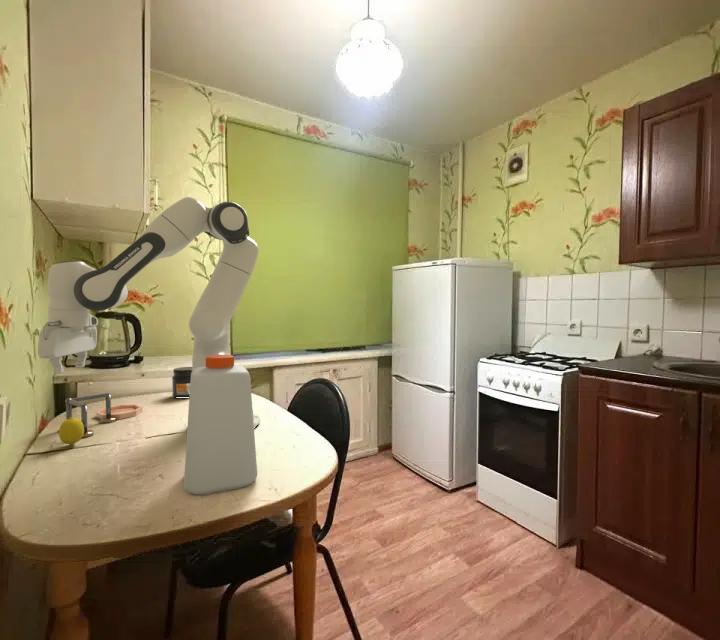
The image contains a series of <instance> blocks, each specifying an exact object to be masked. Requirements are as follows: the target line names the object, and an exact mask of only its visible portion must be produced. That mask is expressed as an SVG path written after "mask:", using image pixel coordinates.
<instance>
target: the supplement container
mask: <svg viewBox="0 0 720 640" xmlns="http://www.w3.org/2000/svg"><path fill="white" fill-rule="evenodd" d="M172 371H173V376H171V380H172V383H171V385H172V386H171V387H172V394H171V395H172V397H173V396H174V397H189V396H190V380H191V372H192V366H183V367H182V366H181V367H176V368H173V370H172ZM174 397H173V398H174Z"/></svg>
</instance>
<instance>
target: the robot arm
mask: <svg viewBox="0 0 720 640" xmlns="http://www.w3.org/2000/svg"><path fill="white" fill-rule="evenodd" d="M248 217H249V216H248V214H247V212H246V210H245V208H243V206H241V205H240V204H238V203H236V202H233V201H223V202H220V203H218V204H216V205H215V206H212V207H207V206H206V205H204V204H203V203H202V202H201V201H199V200H198V199H196V198H194V197H192V196H191V197H190V196H186V197H183V198H181V199H180V200H177V201H176V202H174V203H173V204H171V205H170V206H169V207H167V208H166V209H165V210H163V211H162V212H161V213H160V214H158V215H157V216H156V218H154V219H153V221H151V222H150V223H149V225H148V226H147V227H146V228H145V230H144V231H143V232H142V233H141V234H140V235H139V237H137V239H136V240H135V241H133V243H132V244H130V245H129V246H128V247H127V248H125V249H124V250H123V251H121V253H119V255H117V256H116V257H115V258H113V260H111V261H110V262H108V263H107V264H105V266H102V267H100V268H97V269H96V268H93V267H92V266H90V265H88V264H86V263H85V262H84V261H81V260H63V261H59V262H55V263H54V264H52V265H51V266H50V268H49V271H48V277H47V294H48V297H49V304H48V308H47V310H48V311H47V315H48V316H47V317H48V319H47V320H48V321H47V322H45V324H44V325H43V326H42V329H41V330H40V331H39V335H38V345H37V355H38V357H39V358H40V359H49V363H50V364H51V366H52V367H53V373H54V375H55V374H56V375H60V374H64V373H65V369H66V368H65V366H64V365H63V363H62V361H63V357H65V356H66V357H67V356H69V355H75V354H76V356H77V358H76V361H74V364H75V365H74V366H75V368H76V369H78V368H80V369H81V368H84V367H85V366H86V360H87V356H88V352H89V351H93V350H95V349H96V347H97V343H98V331H97V330H98V329H97V326H98V324H99V319H98V317H96V316H94V315H93V314H91V313H90V311H95V312H99V311H101V312H102V311H106V310H109V309H114V308H117V307H119V306H121V305H122V304H124V303H125V302H126V300H127V299H128V296H129V289H128V286H127V284H128V283H129V282H130V281H131V280H132V279H133V278H134V277H135V276H137V275H138V274H139V273H140V272H141V271H143V270H144V269H145V268H146V267H147V266H148V265H150V264H151V263H153V262H155V261H157V260H159V259H164V258H170V257H173V256H174V255H176V254H177V253H179V252H181V251H182V250H183V249H185V248H186V247H187V246H188V245H189V244H190V243H191V242H193V241H194V239H196V237H198V236H199V235H201V234H202V233H204V234H207V235H209V236H210V237H212V238H214V239H216V240H219V241H221V242H222V243H223V249H222V251H221V255H220V257H219V259H218V261H217V263H216V266H215V267H214V270H213V272H212V275H211V276H210V279H209V280H208V283H207V285H206V287H205V289H204V290H203V292H202V294H201V296H200V298H199V299H198V301H197V303H196V305H195V307H194V308H193V309H194V310H193V311H192V313H191V315H190V318H189V321H188V327H189V330H190V331H189V332H190V333H191V335H192V336H193V349H192V351H193V352H192V357H191V367H192V371H193V370H194V369H195V368H198V367H206V357H208V356H212V355H230V322H231V320H232V318H233V317H234V313H235V312H236V310H237V307H238V305H239V304H240V301H241V300H242V296H243V294H244V292H245V290H246V287H247V286H248V283H249V281H250V279H251V277H252V275H253V272H254V269H255V266H256V263H257V259H258V256H259V246H258V244H257V242H255V240H254V239H252V238H250V228H249V218H248ZM253 422H254V427H256V426H257V425H258V424H259V422H260V423H261V417H260V416H259V415H257V414H254V413H253ZM259 425H260V424H259ZM259 425H258V426H259ZM258 426H257V427H258ZM187 427H188V425H187ZM257 427H256V428H257Z"/></svg>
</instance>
